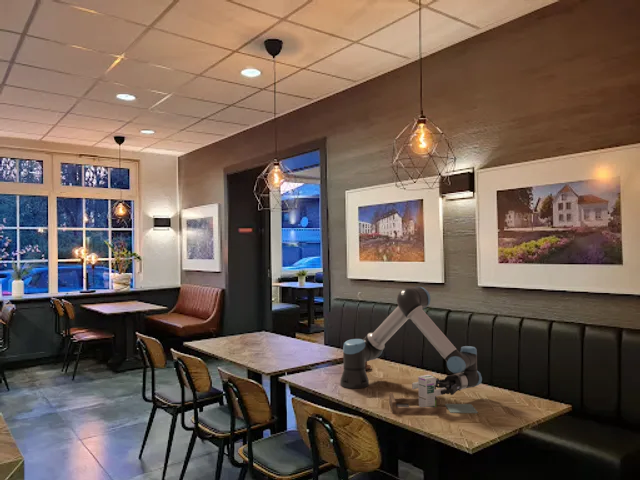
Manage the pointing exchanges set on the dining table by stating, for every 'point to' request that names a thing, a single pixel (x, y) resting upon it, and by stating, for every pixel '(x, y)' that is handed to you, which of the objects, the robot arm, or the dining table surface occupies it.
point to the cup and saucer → (367, 366)
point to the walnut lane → (403, 408)
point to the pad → (461, 408)
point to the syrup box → (427, 391)
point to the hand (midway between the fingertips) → (423, 389)
